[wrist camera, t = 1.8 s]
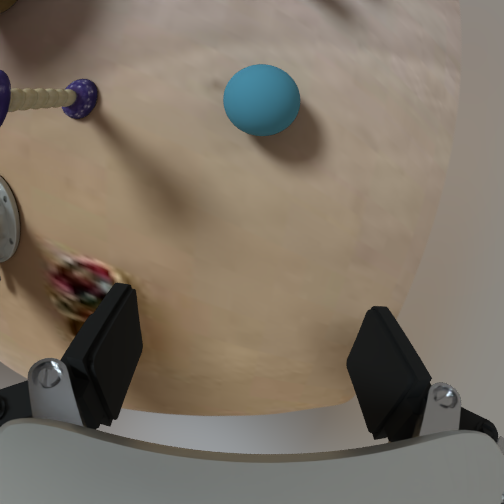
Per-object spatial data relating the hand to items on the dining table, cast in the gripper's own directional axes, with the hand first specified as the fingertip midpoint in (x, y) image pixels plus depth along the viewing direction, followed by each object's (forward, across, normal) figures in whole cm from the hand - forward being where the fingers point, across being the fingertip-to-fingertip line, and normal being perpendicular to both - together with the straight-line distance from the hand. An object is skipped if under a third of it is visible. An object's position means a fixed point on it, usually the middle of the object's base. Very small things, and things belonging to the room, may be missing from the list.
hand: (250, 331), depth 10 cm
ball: (+15, 0, -9) cm, 18 cm away
